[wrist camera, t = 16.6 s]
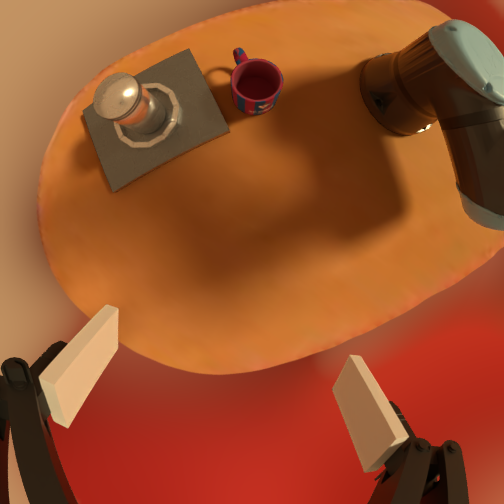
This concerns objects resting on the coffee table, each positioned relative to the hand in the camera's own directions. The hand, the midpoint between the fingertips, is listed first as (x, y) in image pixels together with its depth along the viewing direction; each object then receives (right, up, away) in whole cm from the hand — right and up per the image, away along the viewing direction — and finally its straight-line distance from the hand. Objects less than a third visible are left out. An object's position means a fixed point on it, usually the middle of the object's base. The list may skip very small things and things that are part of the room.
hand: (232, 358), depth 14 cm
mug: (+1, +31, +22) cm, 38 cm away
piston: (-14, +26, +21) cm, 36 cm away
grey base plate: (-15, +26, +22) cm, 37 cm away
